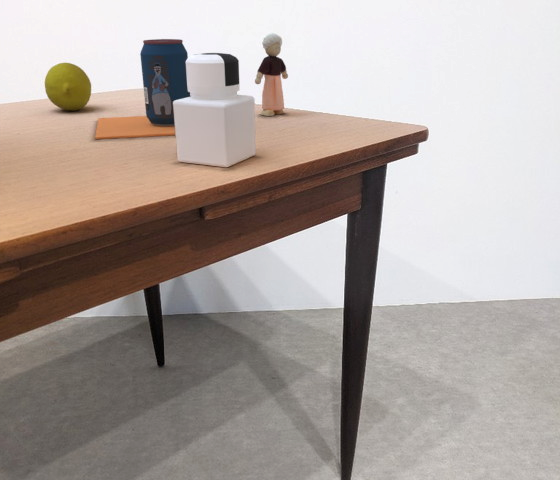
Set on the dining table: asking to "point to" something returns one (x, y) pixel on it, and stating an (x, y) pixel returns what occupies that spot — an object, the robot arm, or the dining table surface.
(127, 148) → the dining table surface
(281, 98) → the grandmother figurine
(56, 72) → the lemon
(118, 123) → the orange cloth
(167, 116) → the soda can
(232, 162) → the medicine bottle
